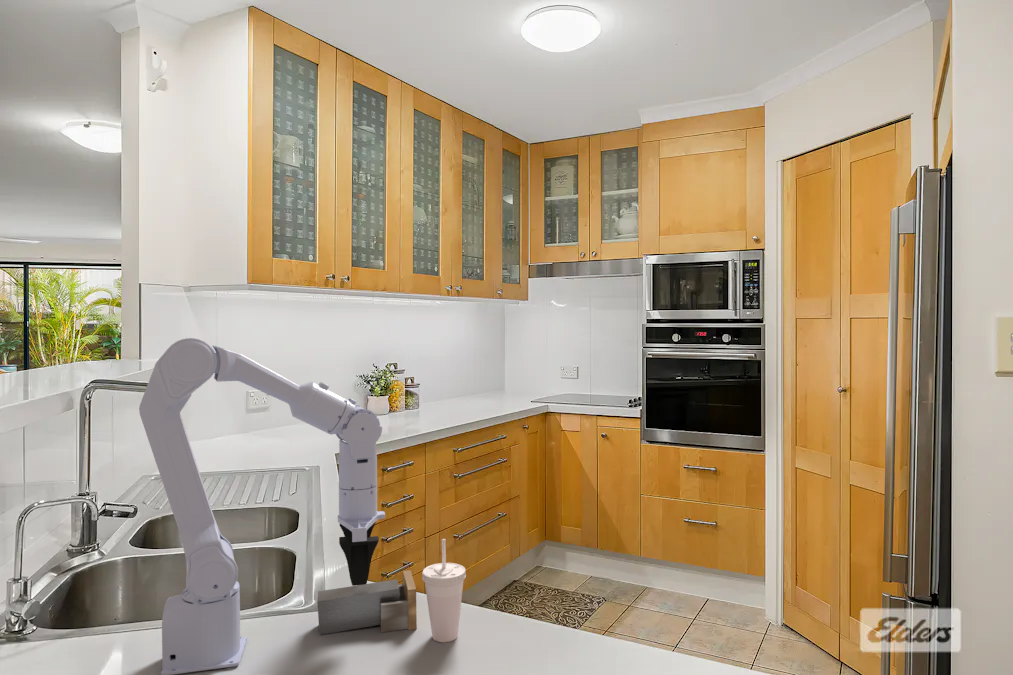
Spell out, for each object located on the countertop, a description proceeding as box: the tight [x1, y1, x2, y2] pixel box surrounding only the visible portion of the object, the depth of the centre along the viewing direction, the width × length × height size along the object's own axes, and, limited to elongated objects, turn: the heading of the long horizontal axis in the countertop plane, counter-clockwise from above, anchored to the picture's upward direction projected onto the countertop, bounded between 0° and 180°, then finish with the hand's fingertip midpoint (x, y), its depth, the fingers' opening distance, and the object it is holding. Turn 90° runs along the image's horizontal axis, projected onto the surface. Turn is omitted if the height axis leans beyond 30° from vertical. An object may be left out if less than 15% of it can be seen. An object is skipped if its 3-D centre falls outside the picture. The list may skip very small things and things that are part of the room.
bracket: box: [380, 569, 418, 633], centre depth 98 cm, size 5×8×6 cm, turn 15°
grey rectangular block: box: [316, 578, 400, 636], centre depth 97 cm, size 12×4×5 cm, turn 105°
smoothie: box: [421, 538, 467, 643], centre depth 92 cm, size 6×6×14 cm
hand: (358, 574), depth 97 cm, fingers open, 7 cm apart
